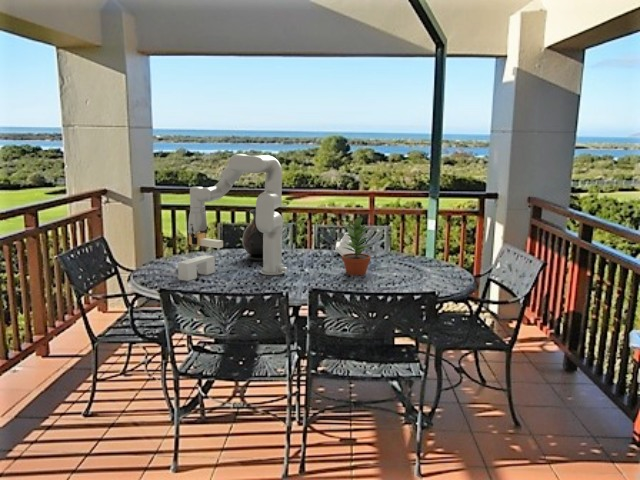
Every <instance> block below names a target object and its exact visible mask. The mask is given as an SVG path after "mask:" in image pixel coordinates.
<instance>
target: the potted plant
mask: <svg viewBox="0 0 640 480" xmlns="http://www.w3.org/2000/svg"><path fill="white" fill-rule="evenodd" d="M346 220H347V221H348V222H349V223H350V224H346V230H347V231H348V234H347V235H348V236H350V238H351V239H350V238H349V239H350V240H351V242H350V243H349V244H347V243H345V244H347V245H349V246H351V247H352V248H353V249H354V250H355V251H354V250H352V249H350V248H347V247H344V248H346V249H348V250H351V251H354V252H355V253H350V254H344V255H343V256H342V261H343V263H344V269H345V272H346V274H347V275H349V276H363V275H364V276H365V275H366V274H367V270H368V267H369V264H370V262H371V255H369V254H367V253H363V252H364V249H365V248H368V247H369V246H368V245H364V244H365V243H364V242H365V241H366V240H368V239H369V238H370V236H368V237H364V238H363V239H362V237H363V236H364V235H365V232H366V231H367V230H369V228H371V227H367V226H368V224H364V225H361V224H362V222H363V217H357V218H355V220H354V222H353V221H352V220H350V219H348V218H346ZM362 243H363V244H362Z"/></svg>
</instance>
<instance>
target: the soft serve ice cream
mask: <svg viewBox="0 0 640 480" xmlns="http://www.w3.org/2000/svg"><path fill="white" fill-rule="evenodd" d="M347 234H349V231H348V232H344V235H343V236H342V238H341V239H340V241H336V243H335V249H334V250H335V251H336V252H337V253H338V254H339V255H340V256H341V257H343V255H344V254H350V253H355V252H354V251H355V250H354V249H353V248H352V247H351V246H349V245H347V244H349V243H350V242H352V240H350V239H351V238H350V236H348V235H347ZM349 238H350V239H349ZM345 243H347V244H345ZM344 247H347V248H350V249H352V250H354V251H351V250H348V249H346V248H344Z"/></svg>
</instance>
